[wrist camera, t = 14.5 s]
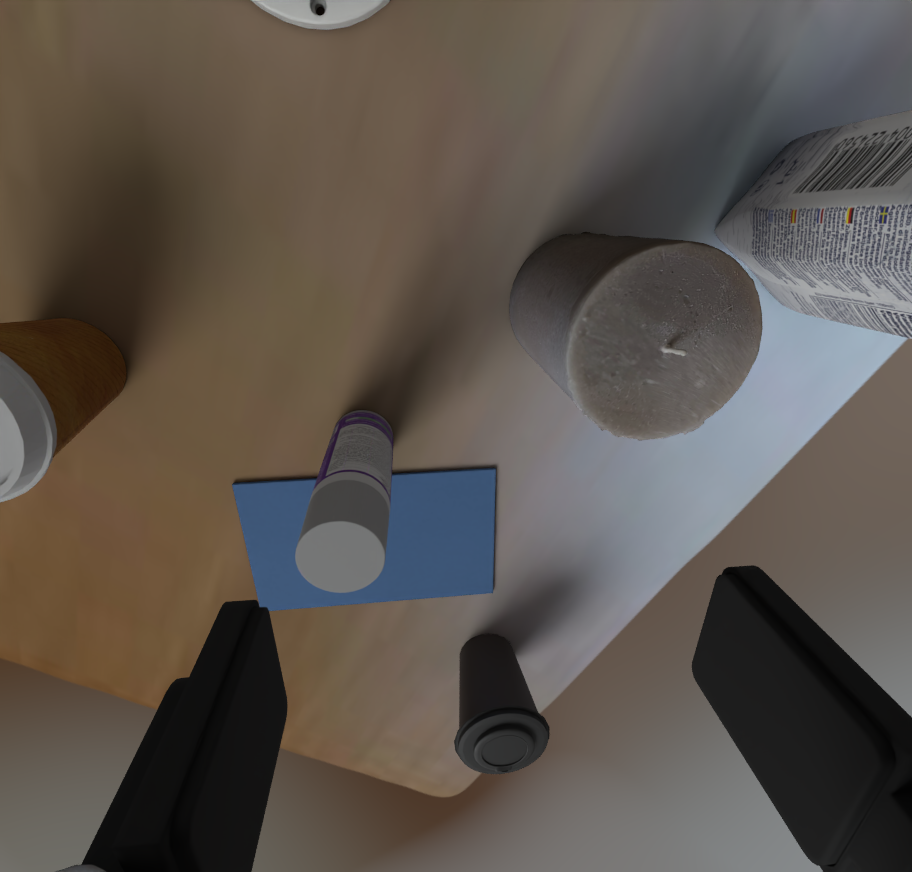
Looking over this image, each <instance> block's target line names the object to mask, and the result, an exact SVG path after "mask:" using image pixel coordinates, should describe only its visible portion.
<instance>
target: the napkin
mask: <svg viewBox="0 0 912 872" xmlns="http://www.w3.org/2000/svg"><path fill="white" fill-rule="evenodd" d="M495 479H496V469H495V468H483V469H466V470H448V471H431V472H414V473H397V474H392V481H391V503H390V515H389V525H388V536H387V546H386V556H385V564H384V567H383V570H382V572H381V573H380V575H379V576H378V577H377V578H376V579H375V580H374V581H373V582H372V583H371V584H369V585H368V586H366V587H364V588H362V589H359V590H356V591H353V592H346V593H336V592H329V591H325V590H323V589H320V588H318V587H316V586H314V585H312V584H311V583H309V582H308V581H307V580H306V579H305V578H304V577H303V576H302V574H301V573H300V571H299V569H298V567H297V564H296V560H295V552H296V547H297V544H298V540H299V537H300V533H301V530H302V527H303V523H304V520H305V516H306V513H307V509H308V506H309V502H310V498H311V495H312V492H313V489H314V486H315V483H316V480H317V478H311V479H293V480H276V481H259V482H242V483H233V484H232V486H233V491H234V495H235V499H236V504H237V508H238V512H239V517H240V521H241V526H242V530H243V534H244V539H245V543H246V548H247V552H248V556H249V561H250V565H251V569H252V574H253V578H254V583H255V587H256V591H257V596H258V600H259V604H260V607H267V608H268V610H269V611H274V610H286V609H299V608H311V607H324V606H336V605H349V604H361V603H374V602H386V601H399V600H411V599H424V598H436V597H449V596H461V595H473V594H486V593H493V569H494V524H495Z"/></svg>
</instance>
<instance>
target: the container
mask: <svg viewBox="0 0 912 872" xmlns="http://www.w3.org/2000/svg"><path fill="white" fill-rule="evenodd" d="M392 459H393V432H392V429H391V427H390V425H389V423H388V422H387V421H386V420H385V419H384V418H383V417H382V416H380V415H379V414H377V413H375V412H372V411H367V410H357V411H353V412H350V413H348V414H346V415H344V416H343V417H342V418H341V419H340V420H339V421H338V422H337V424H336V426H335V428H334V431H333V434H332V436H331V439H330V442H329V445H328V448H327V451H326V454H325V457H324V460H323V463H322V466H321V468H320V471H319V474H318V477H317V480H316V483H315V486H314V489H313V492H312V495H311V498H310V502H309V506H308V509H307V513H306V516H305V520H304V523H303V527H302V530H301V533H300V537H299V540H298V544H297V547H296V552H295V560H296V564H297V567H298V569H299V571H300V573H301V574H302V576H303V577H304V578H305V579H306V580H307V581H308V582H309V583H311V584H312V585H314V586H316V587H318V588H320V589H323V590H325V591H329V592H336V593H346V592H353V591H356V590H359V589H362V588H364V587H366V586H368V585H369V584H371V583H372V582H373V581H374V580H375V579H376V578H377V577H378V576H379V575H380V573H381V572H382V570H383V567H384V564H385V556H386V546H387V536H388V525H389V515H390V503H391V481H392Z"/></svg>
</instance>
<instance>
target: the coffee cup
mask: <svg viewBox="0 0 912 872" xmlns="http://www.w3.org/2000/svg"><path fill="white" fill-rule="evenodd" d="M548 739H549V726H548V724H547V722H546V720H545V718H544V717H543V716H541V715H540V714H539V713H538V711H537V709H536V706H535V704H534V701H533V699H532V696H531V694H530V691H529V689H528V686H527V684H526V681H525V679H524V676H523V674H522V671H521V669H520V666H519V664H518V661H517V659H516V656H515V654H514V651H513V649H512V646H511V644H510V643H509V641H507V640H506V639H505V638H504V637H501V636H499V635H494V634H485V635H480V636H477V637H474V638H472V639H471V640H469V641H468V642H467V643H466V644H465V645H464V646H463V648H462V649H461V652H460V709H459V730H458V732H457V735H456V738H455V740H454V743H455V751H456V753H457V754H458V756H459V757H460V759H461V760H462V761H463V762H464V764H465V765H467V766H468V767H469V768H471V769H473V770H475V771H478V772H482V773H487V774H503V773H509V772H513V771H517V770H519V769H522V768H524V767H526V766H528V765H530V764H531V763H533V762H534V761H535V760H537V758H539V757H540V756H541V754H542V753H543V752H544V750H545V748H546V746H547V743H548Z"/></svg>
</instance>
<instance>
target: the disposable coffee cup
mask: <svg viewBox="0 0 912 872" xmlns="http://www.w3.org/2000/svg"><path fill="white" fill-rule="evenodd" d="M126 374H127V373H126V365H125V362H124V359H123V356H122V354H121V353H120V351H119V349H118V348H117V346H116V345H115V344H114V343H113V341H112V340H111V339H110V338H109V337H108V336H107V335H106V334H104V333H103V332H102V331H100V330H98V329H97V328H95V327H94V326H92V325H90V324H87V323H85V322H82V321H79V320H76V319H68V318H57V319H48V320H36V321H24V322H11V323H0V502H3V501H6V500H10V499H13V498H15V497H17V496H19V495H21V494H23V493H25V492H27V491H28V490H30V489H31V488H32V487H33V486H35V485H36V484H37V483H38V481H39V480H40V479H41V478H42V477H43V476H44V475H45V473H46V471H47V469H48V467H49V465H50V463H51V461H52V458H53V457H54V456H55V455H56V454H57V453H58V452H59V451H60V450H61V449H62V448H64V447H65V446H66V444H67V443H69V442H70V441H71V440H72V439H73V438H74V437H75V436H76V435H77V434H78V433H79V432H80V431H81V430H82V429H84V428H85V426H86V425H88V424H89V423H90V422H91V420H93V419H94V418H95V417H96V416H97V415H98V414H99V413H100V412H101V411H102V410H103V409H104V408H105V407H106V406H107V405H108V404H110V403H111V402H112V401H113V400H114V399H115V398H116V397H117V396H118V395H119V394H120V393H121V391H122V390H123V387H124V384H125V381H126Z"/></svg>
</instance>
